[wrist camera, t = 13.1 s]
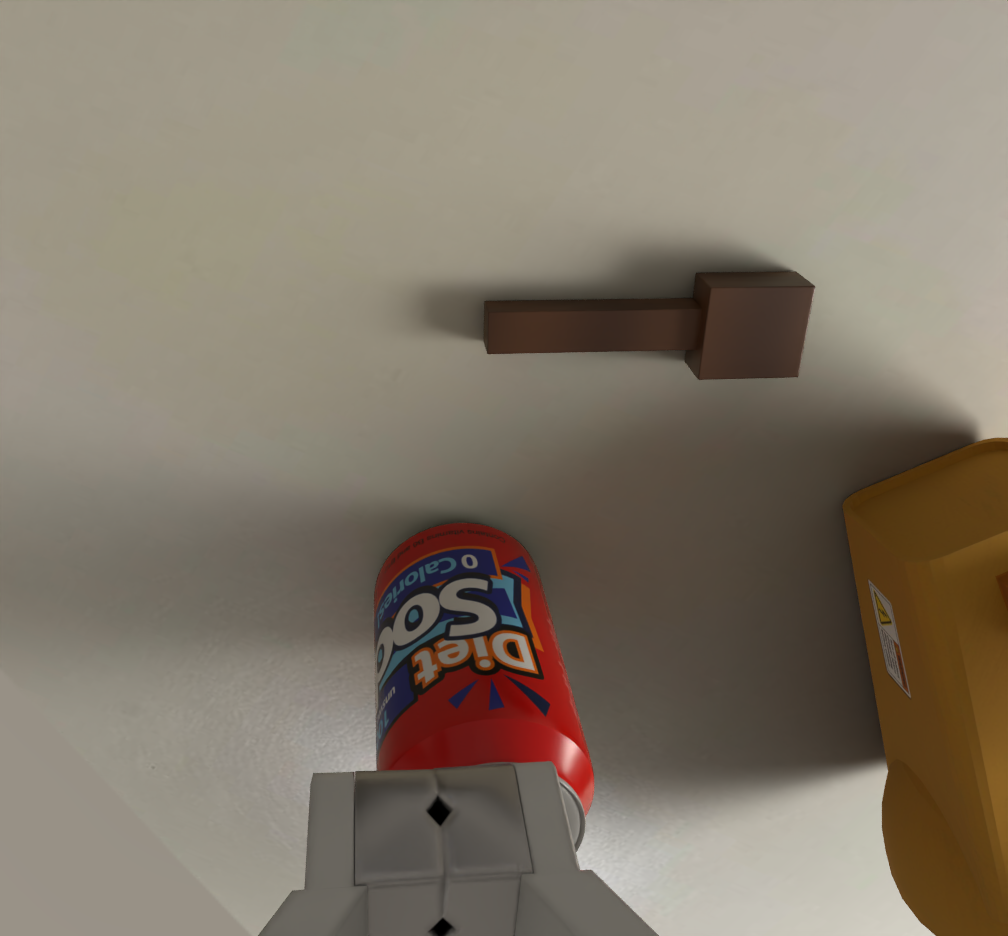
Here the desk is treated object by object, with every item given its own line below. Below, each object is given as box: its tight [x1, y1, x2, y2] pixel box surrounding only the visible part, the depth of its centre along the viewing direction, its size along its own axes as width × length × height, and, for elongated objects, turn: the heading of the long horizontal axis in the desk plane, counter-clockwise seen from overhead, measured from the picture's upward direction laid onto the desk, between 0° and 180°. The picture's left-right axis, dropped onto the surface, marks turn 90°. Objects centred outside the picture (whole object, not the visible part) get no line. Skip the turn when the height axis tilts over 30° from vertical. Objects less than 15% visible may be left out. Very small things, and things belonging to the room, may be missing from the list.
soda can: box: [374, 523, 594, 852], centre depth 39 cm, size 8×8×15 cm
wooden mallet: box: [484, 272, 815, 380], centre depth 40 cm, size 13×4×2 cm, turn 88°
